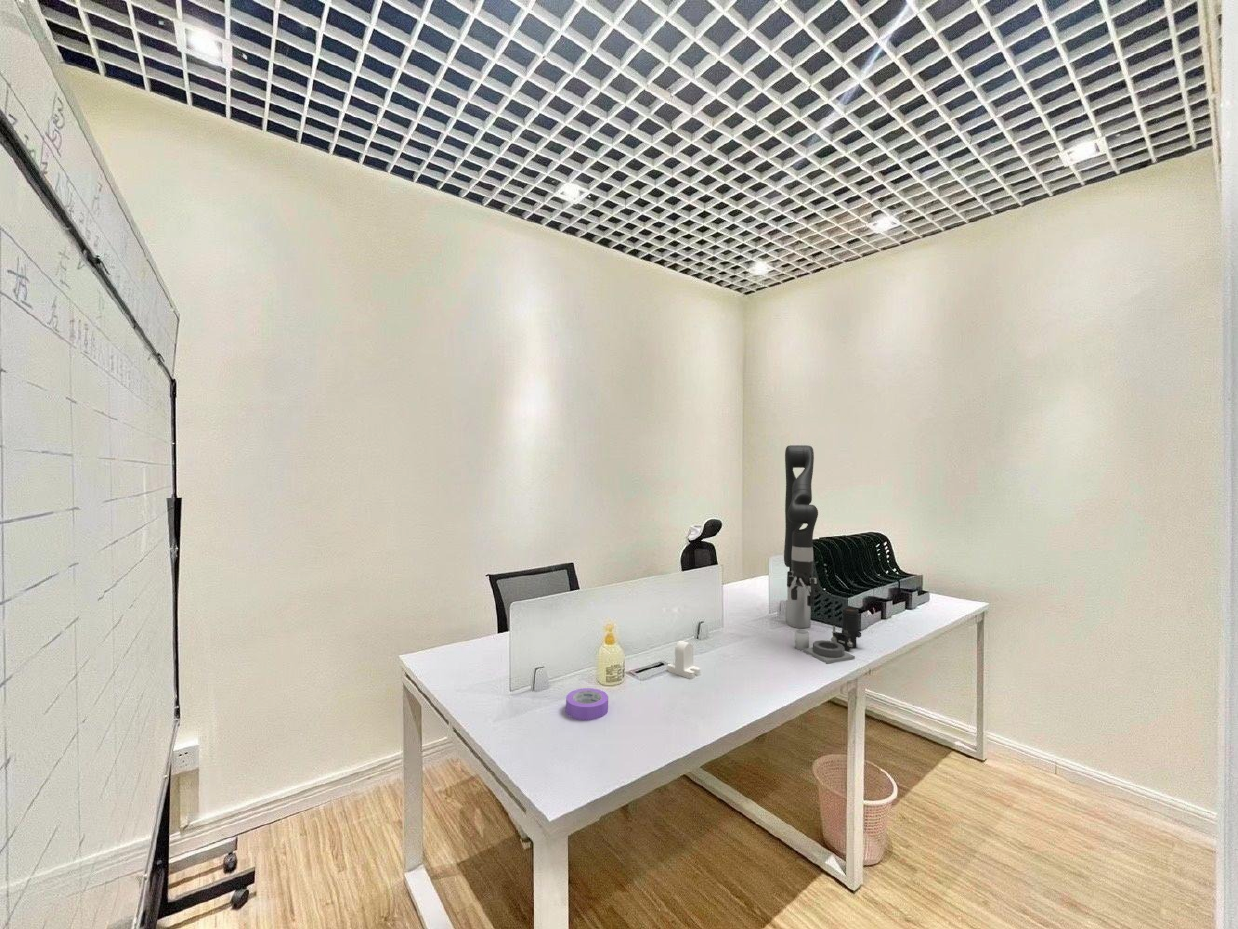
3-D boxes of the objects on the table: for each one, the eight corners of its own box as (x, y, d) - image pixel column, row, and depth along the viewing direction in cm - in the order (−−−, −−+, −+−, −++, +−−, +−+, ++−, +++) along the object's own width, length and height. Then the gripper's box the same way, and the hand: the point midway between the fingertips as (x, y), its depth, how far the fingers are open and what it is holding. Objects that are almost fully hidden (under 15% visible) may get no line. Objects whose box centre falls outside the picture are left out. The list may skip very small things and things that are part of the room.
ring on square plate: (803, 651, 188) (803, 641, 188) (829, 647, 193) (829, 637, 193) (827, 663, 177) (827, 653, 177) (854, 659, 182) (854, 649, 182)
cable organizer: (691, 679, 165) (691, 648, 165) (666, 670, 171) (666, 640, 171) (701, 674, 169) (701, 643, 168) (676, 666, 175) (676, 636, 175)
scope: (830, 609, 194) (845, 604, 200) (830, 646, 194) (845, 640, 200) (851, 614, 187) (866, 609, 193) (851, 653, 187) (866, 647, 193)
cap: (792, 646, 193) (792, 630, 193) (802, 645, 195) (802, 628, 195) (801, 651, 189) (801, 634, 189) (811, 649, 191) (811, 632, 191)
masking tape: (597, 697, 153) (597, 684, 152) (615, 715, 142) (615, 701, 142) (559, 706, 147) (559, 692, 147) (575, 725, 137) (575, 710, 137)
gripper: (781, 556, 197) (781, 599, 197) (807, 562, 184) (807, 609, 184) (797, 554, 200) (797, 597, 200) (824, 561, 186) (824, 606, 186)
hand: (802, 602), depth 192 cm, fingers open, 8 cm apart
